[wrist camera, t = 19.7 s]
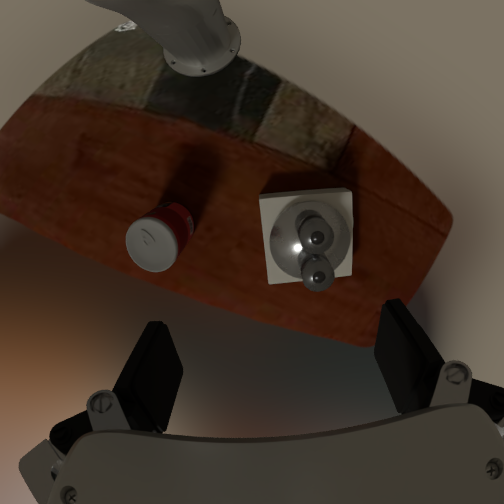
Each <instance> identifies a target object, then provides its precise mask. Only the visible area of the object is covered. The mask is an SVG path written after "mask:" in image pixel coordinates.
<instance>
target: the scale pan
mask: <svg viewBox="0 0 504 504" xmlns="http://www.w3.org/2000/svg"><path fill="white" fill-rule="evenodd" d="M305 210H315V211H317V212H319V213H320V214H321V215H322V217H323V218H324V219H325V220H326V221H327V223H328V224H329V225H330V226H331V228H332V229H333V232H334V241H333V244H332V246H331V247H330V248H329V249H328V250H327V251H325V252H324V253H325V255H326V256H327V258H328V260H329V262H330V264H331V266H332V268H333V270H335V269H336V268H337V267H339V265H340V264H341V263H342V262H343V260H344V259H345V257H346V255H347V253H348V250H349V246H350V232H349V228H348V225H347V223H346V221H345V219H344V218H343V216H342V215H341V214H340V213H339V212H338V211H337V210H336V209H335V208H333V207H332V206H330V205H328V204H326V203H323V202H319V201H303V202H299V203H296V204H294V205H292V206H290V207H288V208H287V209H286V210H284V211H283V212H282V213H281V214H280V215H279V216H278V218H277V219H276V220H275V222H274V224H273V226H272V229H271V232H270V239H269V243H270V251H271V255H272V257H273V259H274V261H275V263H276V264H277V266H278V267H279V268H280V269H281V270H282V271H284V272H285V273H286V274H288V275H290V276H292V277H295V278H298V279H302V276H301V272H300V268H299V265H298V255H299V253H300V252H301V250H302V249H304V248H303V247H302V245H301V242H300V240H299V237H298V235H297V232H296V230H295V220H296V217H297V216H298V215H299V214H300V213H301V212H302V211H305Z"/></svg>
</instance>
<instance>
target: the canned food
mask: <svg viewBox="0 0 504 504" xmlns="http://www.w3.org/2000/svg"><path fill="white" fill-rule="evenodd" d="M193 232H194V222H193V218H192V215H191V214H190V212H189V211H188V210H187V209H186V208H185V207H184V206H182V205H181V204H178V203H175V202H166V203H162V204H161V205H159V206H157V207H156V208H154V209H153V210H151V211H150V212H148V213H146V214H145V215H143V216H142V217H140V218H139V219H138V220H136V221H135V222H134V223H133V224H132V225H131V226H130V228H129V229H128V232H127V235H126V246H127V250H128V252H129V255H130V256H131V258H132V259H133V260H134V262H135V263H136V264H137V265H139V266H140V267H142V268H143V269H145V270H148V271H152V272H160V271H164V270H166V269H168V268H169V267H170V266H171V265H172V264H173V263H174V262H175V260H176V259H177V258H178V256H179V255H180V253H181V252H182V250H183V249H184V247H185V246H186V245H187V243H188V242H189V240H190V239H191V237H192V235H193Z"/></svg>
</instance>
